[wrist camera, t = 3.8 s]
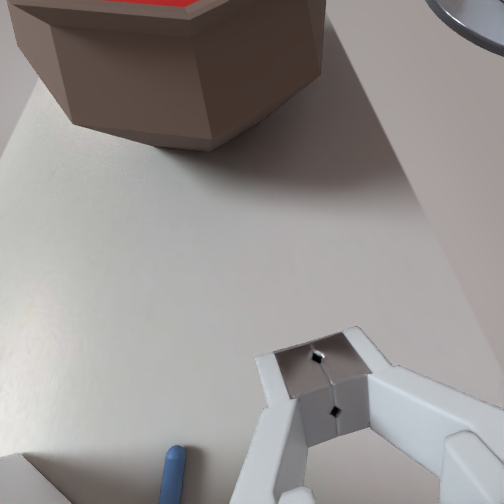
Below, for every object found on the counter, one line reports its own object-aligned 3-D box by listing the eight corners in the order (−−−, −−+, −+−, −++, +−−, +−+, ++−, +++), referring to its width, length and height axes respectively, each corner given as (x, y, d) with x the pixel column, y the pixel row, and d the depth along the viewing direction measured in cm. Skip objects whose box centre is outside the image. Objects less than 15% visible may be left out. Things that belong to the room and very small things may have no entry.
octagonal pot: (356, 62, 32) (452, -220, 17) (236, 250, 25) (209, 53, 9) (167, -11, 36) (105, -288, 21) (16, 130, 29) (-249, -139, 14)
